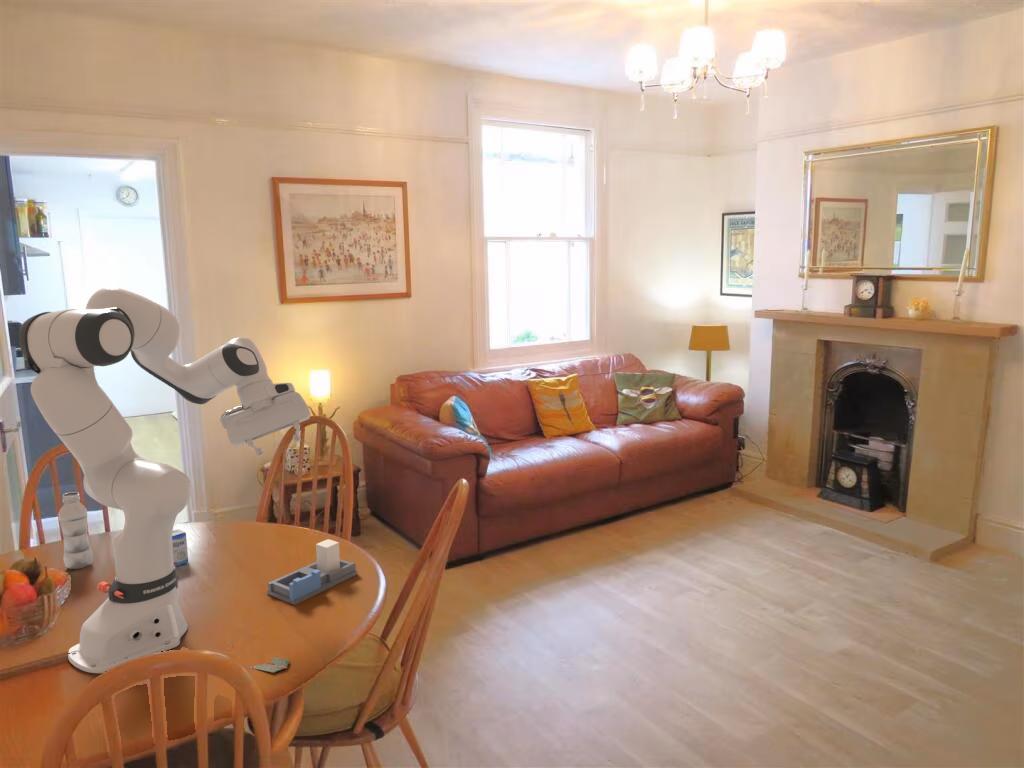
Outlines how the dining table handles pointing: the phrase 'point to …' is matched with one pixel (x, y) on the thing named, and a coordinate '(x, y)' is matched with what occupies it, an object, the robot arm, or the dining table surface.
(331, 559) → the white rectangular block
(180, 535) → the medicine box
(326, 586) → the two-compartment grey tray
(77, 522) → the plastic bottle
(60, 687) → the dining table surface
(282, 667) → the map
